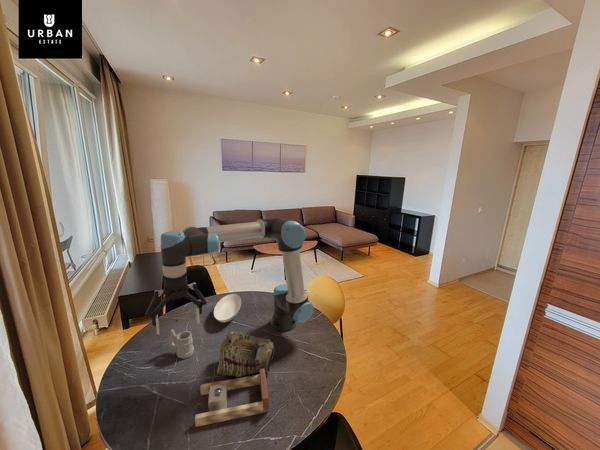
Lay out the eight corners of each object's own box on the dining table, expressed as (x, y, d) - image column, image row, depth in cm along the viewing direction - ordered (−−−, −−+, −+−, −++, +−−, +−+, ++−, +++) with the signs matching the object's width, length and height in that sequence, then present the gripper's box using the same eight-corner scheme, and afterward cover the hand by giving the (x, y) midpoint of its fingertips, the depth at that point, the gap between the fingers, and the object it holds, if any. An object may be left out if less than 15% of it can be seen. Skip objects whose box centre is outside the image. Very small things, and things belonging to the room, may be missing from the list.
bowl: (236, 330, 136) (235, 320, 134) (208, 330, 135) (207, 320, 133) (244, 302, 165) (244, 293, 164) (222, 302, 164) (221, 293, 163)
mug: (188, 360, 113) (186, 337, 110) (164, 357, 114) (162, 334, 112) (197, 348, 120) (195, 327, 118) (174, 346, 122) (172, 324, 119)
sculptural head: (278, 326, 119) (227, 319, 119) (273, 349, 98) (211, 340, 98) (272, 362, 119) (222, 354, 119) (267, 392, 98) (205, 383, 98)
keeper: (227, 395, 96) (226, 381, 95) (226, 411, 89) (225, 397, 88) (211, 398, 95) (210, 384, 93) (209, 415, 88) (208, 400, 87)
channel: (264, 380, 103) (264, 368, 102) (268, 411, 90) (268, 397, 88) (201, 392, 97) (200, 379, 96) (195, 427, 84) (194, 412, 82)
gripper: (208, 265, 98) (210, 313, 102) (133, 276, 85) (139, 331, 89) (213, 271, 92) (215, 322, 96) (133, 285, 79) (139, 343, 83)
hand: (178, 327), depth 92 cm, fingers open, 13 cm apart
